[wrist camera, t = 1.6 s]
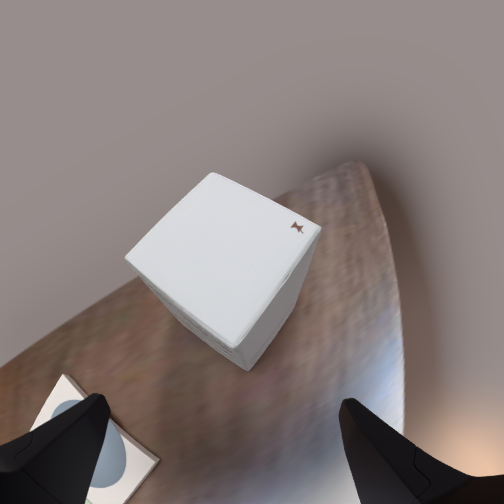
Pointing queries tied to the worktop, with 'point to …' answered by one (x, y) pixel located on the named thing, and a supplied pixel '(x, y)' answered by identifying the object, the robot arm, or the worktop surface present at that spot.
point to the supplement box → (228, 265)
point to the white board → (104, 450)
